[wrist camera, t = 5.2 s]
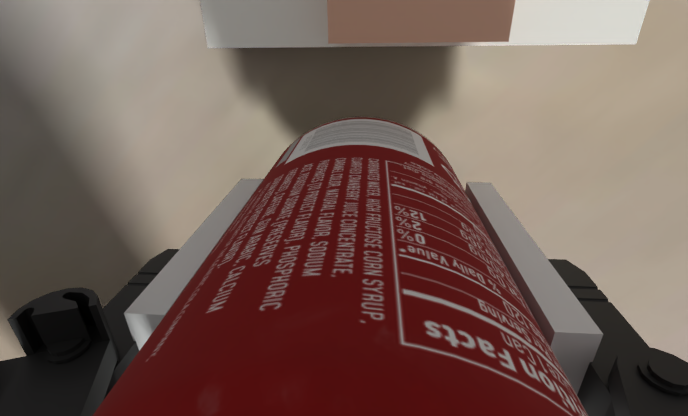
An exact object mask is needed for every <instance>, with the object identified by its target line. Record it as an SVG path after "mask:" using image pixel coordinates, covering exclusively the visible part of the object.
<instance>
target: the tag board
mask: <svg viewBox="0 0 688 416" xmlns="http://www.w3.org/2000/svg"><path fill="white" fill-rule="evenodd" d="M649 1H650V0H200V4H201V10H202V16H203V22H204V28H205V34H206V41H207V47H208V48H286V47H392V46H499V45H605V44H636V43H637V39H638V36H639V33H640V30H641V26H642V23H643V20H644V17H645V13H646V10H647V7H648V4H649Z"/></svg>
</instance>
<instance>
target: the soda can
mask: <svg viewBox="0 0 688 416" xmlns="http://www.w3.org/2000/svg"><path fill="white" fill-rule="evenodd" d="M92 416H588V414H587V413H586V411H585V409H584V407H583V405H582V404H581V402H580V400H579V398H578V396H577V394H576V393H575V391H574V389H573V387H572V385H571V384H570V382H569V380H568V378H567V376H566V374H565V373H564V371H563V369H562V367H561V365H560V364H559V362H558V360H557V358H556V356H555V354H554V353H553V351H552V349H551V347H550V345H549V344H548V342H547V340H546V338H545V336H544V334H543V333H542V331H541V329H540V327H539V325H538V324H537V322H536V320H535V318H534V316H533V314H532V313H531V311H530V309H529V307H528V305H527V304H526V302H525V300H524V298H523V296H522V294H521V293H520V291H519V289H518V287H517V285H516V284H515V282H514V280H513V278H512V276H511V274H510V273H509V271H508V269H507V267H506V265H505V264H504V262H503V260H502V258H501V256H500V254H499V253H498V251H497V249H496V247H495V245H494V243H493V242H492V240H491V238H490V236H489V234H488V233H487V231H486V229H485V227H484V225H483V223H482V222H481V220H480V218H479V216H478V214H477V213H476V211H475V209H474V207H473V205H472V203H471V202H470V200H469V198H468V196H467V194H466V193H465V191H464V189H463V187H462V185H461V183H460V182H459V180H458V178H457V176H456V174H455V173H454V171H453V169H452V167H451V165H450V164H449V162H448V161H447V159H446V158H445V156H444V155H443V154H442V152H441V151H440V150H439V149H438V148H437V147H436V146H435V145H434V144H433V143H432V142H431V141H430V140H428V139H427V138H426V137H425V136H423V135H422V134H420V133H419V132H417V131H415V130H414V129H412V128H410V127H408V126H406V125H403V124H401V123H398V122H395V121H392V120H388V119H383V118H378V117H368V116H355V117H346V118H341V119H336V120H332V121H329V122H326V123H323V124H321V125H319V126H316V127H314V128H313V129H311V130H309V131H307V132H306V133H304V134H303V135H301V136H300V137H299V138H297V139H296V140H295V141H294V142H293V143H292V144H291V145H290V146H289V147H288V148H287V149H286V150H285V151H284V152H283V154H282V155H281V156H280V158H279V159H278V161H277V162H276V163H275V165H274V166H273V167H272V169H271V170H270V172H269V173H268V174H267V176H266V177H265V179H264V180H263V181H262V183H261V184H260V185H259V187H258V188H257V190H256V191H255V192H254V194H253V195H252V196H251V198H250V199H249V201H248V202H247V203H246V205H245V206H244V207H243V209H242V210H241V212H240V213H239V214H238V216H237V217H236V218H235V220H234V221H233V223H232V224H231V225H230V227H229V228H228V229H227V231H226V232H225V234H224V235H223V236H222V238H221V239H220V240H219V242H218V243H217V245H216V246H215V247H214V249H213V250H212V252H211V253H210V254H209V256H208V257H207V258H206V260H205V261H204V263H203V264H202V265H201V267H200V268H199V269H198V271H197V272H196V274H195V275H194V276H193V278H192V279H191V280H190V282H189V283H188V285H187V286H186V287H185V289H184V290H183V291H182V293H181V294H180V296H179V297H178V298H177V300H176V301H175V302H174V304H173V305H172V307H171V308H170V309H169V311H168V312H167V313H166V315H165V316H164V318H163V319H162V320H161V322H160V323H159V325H158V326H157V327H156V329H155V330H154V331H153V333H152V334H151V336H150V337H149V338H148V340H147V341H146V342H145V344H144V345H143V347H142V348H141V349H140V351H139V352H138V353H137V355H136V356H135V358H134V359H133V360H132V362H131V363H130V364H129V366H128V367H127V369H126V370H125V371H124V373H123V374H122V375H121V377H120V378H119V380H118V381H117V382H116V384H115V385H114V386H113V388H112V389H111V391H110V392H109V393H108V395H107V396H106V398H105V399H104V400H103V402H102V403H101V404H100V406H99V407H98V409H97V410H96V411H95V413H94V414H93V415H92Z"/></svg>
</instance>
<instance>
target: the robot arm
mask: <svg viewBox="0 0 688 416" xmlns="http://www.w3.org/2000/svg"><path fill="white" fill-rule="evenodd" d="M263 180H264V179H241V180H240V181H239V182H238V183H237V184H236V186H235V187H234V188H233V189H232V190H231V191H230V192H229V194H228V195H227V196H226V197H225V198H224V199H223V200H222V202H221V203H220V204H219V205H218V206H217V207H216V208H215V210H214V211H213V212H212V213H211V214H210V215H209V216H208V218H207V219H206V220H205V221H204V222H203V223H202V224H201V226H200V227H199V228H198V229H197V230H196V231H195V232H194V234H193V235H192V236H191V237H190V238H189V239H188V240H187V242H186V243H185V244H184V245H183V246H182V247H181V248H180V249H167V250H166V251H164V252H162V253H161V254H159V255H157V256H156V257H154V258H152V259H151V260H150V261H149V262H148V263H147V264H146V265H145V266H144V267H143V268H142V269H141V270H140V271H139V272H138V275H135V276H134V277H133V278H132V279H131V280H130V281H129V282H128V286H127V285H125V286H124V288H123V289H122V290H121V291H120V292H119V293H118V294H117V295H116V296H115V297H114V298H113V299H112V300H111V301H110V302H109V303H108V304H107V305H106V306H105V307H104V308H103V309H102V306H101V304H100V301H99V298H98V296H97V295H96V294H95V293H94V291H93V290H89V289H85V288H68V289H64V290H60V291H55V292H51V293H49V294H46V295H44V296H42V297H39V298H37V299H34V300H33V301H31V302H29V303H28V304H26V305H24V306H23V307H21V308H19V309H18V310H17V311H16V312H15V313H14V314H13V315H12V316H11V317H10V318H9V319H8V321H9V323H10V325H11V327H12V329H13V331H14V333H15V335H16V336H17V338H18V340H19V342H20V344H21V346H22V348H23V350H24V351H25V353H26V355H27V356H25V357H20V358H15V359H10V360H5V361H0V416H92V415H93V414H94V413H95V411H96V410H97V409H98V407H99V406H100V404H101V403H102V402H103V400H104V399H105V398H106V396H107V395H108V393H109V392H110V391H111V389H112V388H113V386H114V385H115V384H116V382H117V381H118V380H119V378H120V377H121V375H122V374H123V373H124V371H125V370H126V369H127V367H128V366H129V364H130V363H131V362H132V360H133V359H134V358H135V356H136V355H137V353H138V352H139V351H140V349H141V348H142V347H143V345H144V344H145V342H146V341H147V340H148V338H149V337H150V336H151V334H152V333H153V331H154V330H155V329H156V327H157V326H158V325H159V323H160V322H161V320H162V319H163V318H164V316H165V315H166V313H167V312H168V311H169V309H170V308H171V307H172V305H173V304H174V302H175V301H176V300H177V298H178V297H179V296H180V294H181V293H182V291H183V290H184V289H185V287H186V286H187V285H188V283H189V282H190V280H191V279H192V278H193V276H194V275H195V274H196V272H197V271H198V269H199V268H200V267H201V265H202V264H203V263H204V261H205V260H206V258H207V257H208V256H209V254H210V253H211V252H212V250H213V249H214V247H215V246H216V245H217V243H218V242H219V240H220V239H221V238H222V236H223V235H224V234H225V232H226V231H227V229H228V228H229V227H230V225H231V224H232V223H233V221H234V220H235V218H236V217H237V216H238V214H239V213H240V212H241V210H242V209H243V207H244V206H245V205H246V203H247V202H248V201H249V199H250V198H251V196H252V195H253V194H254V192H255V191H256V190H257V188H258V187H259V185H260V184H261V183H262V181H263ZM465 193H466V194H467V196H468V198H469V200H470V202H471V203H472V205H473V207H474V209H475V211H476V213H477V214H478V216H479V218H480V220H481V222H482V223H483V225H484V227H485V229H486V231H487V233H488V234H489V236H490V238H491V240H492V242H493V243H494V245H495V247H496V249H497V251H498V253H499V254H500V256H501V258H502V260H503V262H504V264H505V265H506V267H507V269H508V271H509V273H510V274H511V276H512V278H513V280H514V282H515V284H516V285H517V287H518V289H519V291H520V293H521V294H522V296H523V298H524V300H525V302H526V304H527V305H528V307H529V309H530V311H531V313H532V314H533V316H534V318H535V320H536V322H537V324H538V325H539V327H540V329H541V331H542V333H543V334H544V336H545V338H546V340H547V342H548V344H549V345H550V347H551V349H552V351H553V353H554V354H555V356H556V358H557V360H558V362H559V364H560V365H561V367H562V369H563V371H564V373H565V374H566V376H567V378H568V380H569V382H570V384H571V385H572V387H573V389H574V391H575V393H576V394H577V396H578V398H579V400H580V402H581V404H582V405H583V407H584V409H585V411H586V413H587V414H588V416H688V363H687V362H685V361H684V360H682V359H680V358H678V357H676V356H674V355H672V354H669V353H666V352H664V351H661V350H658V349H655V348H649V346H648V345H647V344H646V343H645V342H644V340H643V339H642V338H641V337H640V336H639V335H638V333H637V332H636V331H635V330H634V329H633V328H632V326H631V325H630V324H629V323H628V322H627V321H626V319H625V318H624V317H623V316H622V315H621V314H620V312H619V311H618V310H617V309H616V308H615V307H614V305H613V304H612V303H611V302H608V298H607V297H606V296H605V295H604V294H603V293H602V291H601V290H598V289H597V286H596V284H595V283H594V282H593V281H592V280H591V279H590V277H589V276H588V275H587V274H586V273H585V272H584V271H582V270H581V269H579V268H578V267H576V266H575V265H573V264H572V263H570V262H569V261H567V260H557V259H547V258H546V256H545V255H544V254H543V252H542V251H541V250H540V248H539V247H538V246H537V244H536V243H535V242H534V240H533V239H532V237H531V236H530V235H529V233H528V232H527V231H526V229H525V228H524V227H523V225H522V224H521V223H520V221H519V220H518V219H517V217H516V216H515V215H514V213H513V212H512V211H511V209H510V208H509V207H508V205H507V204H506V203H505V201H504V200H503V198H502V197H501V196H500V194H499V193H498V192H497V190H496V189H495V188H494V186H493V185H492V184H491V183H485V182H467V183H466V190H465Z"/></svg>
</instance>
